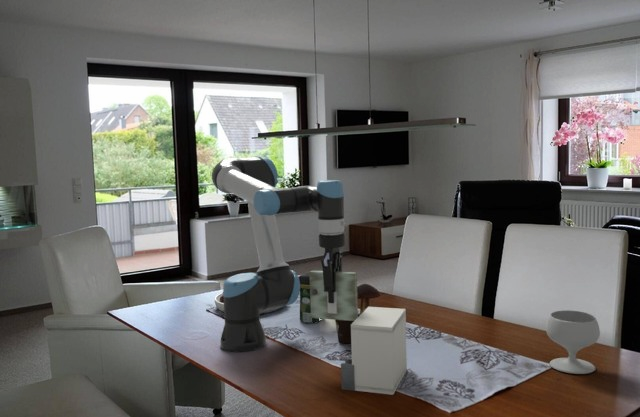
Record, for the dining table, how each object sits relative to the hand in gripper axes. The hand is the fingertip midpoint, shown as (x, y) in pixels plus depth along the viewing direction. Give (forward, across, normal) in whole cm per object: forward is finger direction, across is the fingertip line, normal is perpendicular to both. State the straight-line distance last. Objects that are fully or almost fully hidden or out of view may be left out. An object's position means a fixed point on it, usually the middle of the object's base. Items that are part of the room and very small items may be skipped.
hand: (334, 311), depth 170 cm
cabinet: (+16, -7, -16) cm, 24 cm away
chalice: (+17, +16, -66) cm, 70 cm away
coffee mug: (+17, +23, +3) cm, 29 cm away
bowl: (+17, +54, +55) cm, 79 cm away
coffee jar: (+17, +41, +23) cm, 50 cm away
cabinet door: (+2, 0, 0) cm, 2 cm away
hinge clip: (+16, -14, -9) cm, 23 cm away
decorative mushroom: (+17, +42, +2) cm, 45 cm away
